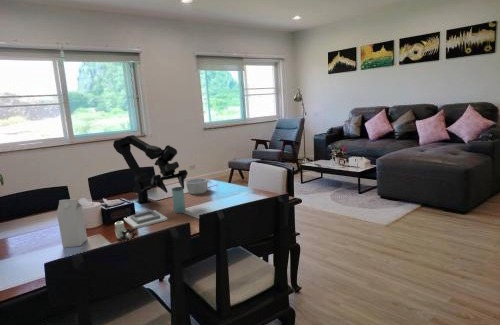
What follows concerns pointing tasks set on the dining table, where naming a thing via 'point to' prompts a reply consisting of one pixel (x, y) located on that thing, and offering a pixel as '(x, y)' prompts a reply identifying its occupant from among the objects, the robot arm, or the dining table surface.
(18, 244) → the dining table surface
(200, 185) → the ramekin
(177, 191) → the cup
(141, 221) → the dock
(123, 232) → the valve
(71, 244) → the milk carton
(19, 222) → the dining table surface
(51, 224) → the dining table surface
